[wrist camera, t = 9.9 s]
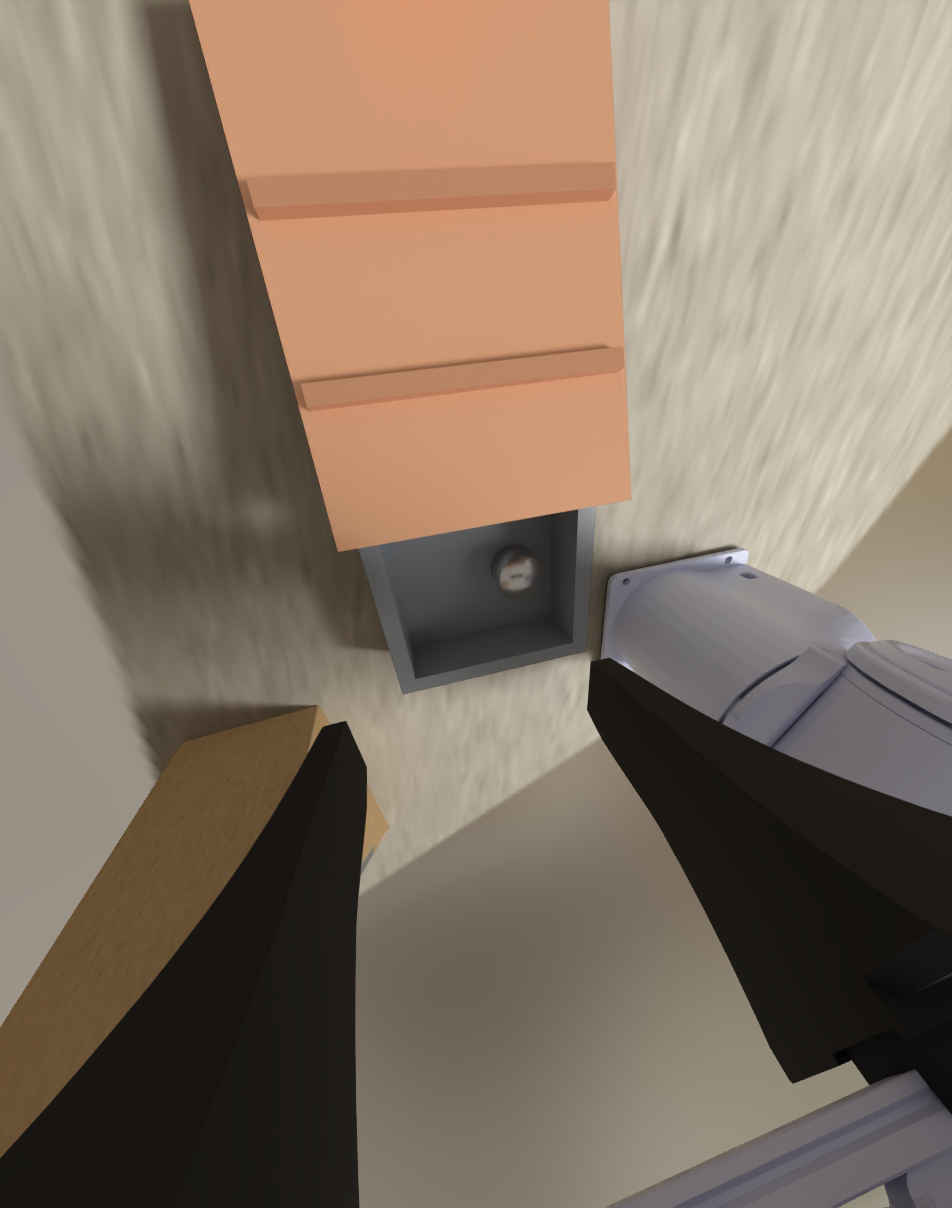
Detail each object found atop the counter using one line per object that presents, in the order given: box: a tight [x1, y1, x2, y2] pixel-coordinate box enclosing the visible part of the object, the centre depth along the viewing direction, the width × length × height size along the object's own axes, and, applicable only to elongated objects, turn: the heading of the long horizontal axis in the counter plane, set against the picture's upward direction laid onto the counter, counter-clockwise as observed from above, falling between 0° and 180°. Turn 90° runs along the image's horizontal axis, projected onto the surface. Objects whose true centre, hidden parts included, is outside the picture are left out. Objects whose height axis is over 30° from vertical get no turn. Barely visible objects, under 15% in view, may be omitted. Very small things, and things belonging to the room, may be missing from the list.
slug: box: [491, 545, 546, 601], centre depth 18 cm, size 2×2×2 cm
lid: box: [189, 0, 631, 552], centre depth 9 cm, size 11×18×3 cm, turn 7°
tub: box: [358, 506, 596, 694], centre depth 16 cm, size 10×13×4 cm
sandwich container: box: [0, 705, 389, 1158], centre depth 18 cm, size 9×15×15 cm, turn 9°
